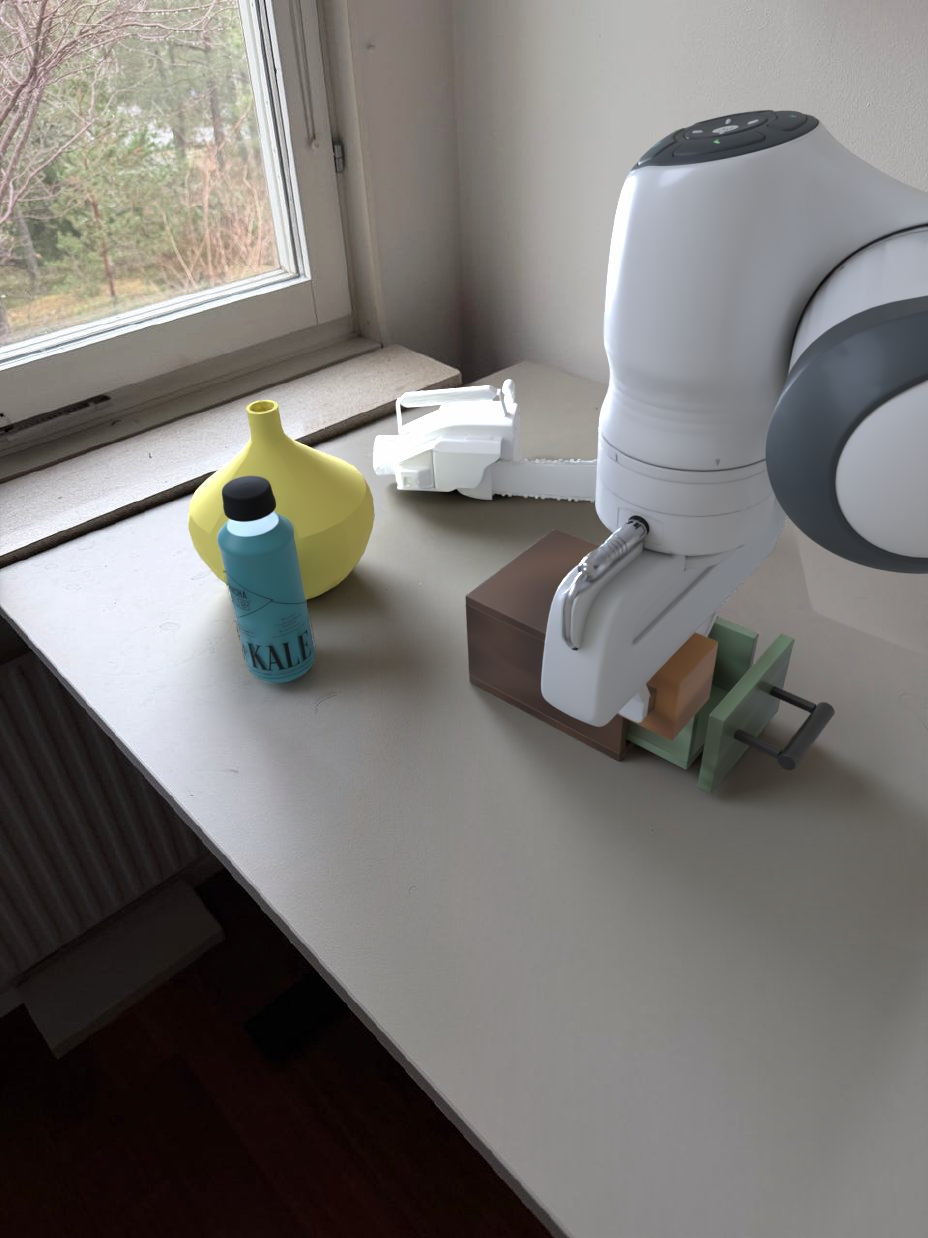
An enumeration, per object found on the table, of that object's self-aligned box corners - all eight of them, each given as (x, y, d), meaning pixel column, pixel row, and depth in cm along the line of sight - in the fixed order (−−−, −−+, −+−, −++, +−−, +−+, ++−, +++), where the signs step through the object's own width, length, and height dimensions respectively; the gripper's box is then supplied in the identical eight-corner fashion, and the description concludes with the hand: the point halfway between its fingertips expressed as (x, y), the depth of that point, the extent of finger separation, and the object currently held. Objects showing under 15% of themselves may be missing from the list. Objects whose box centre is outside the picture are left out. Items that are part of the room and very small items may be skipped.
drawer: (835, 736, 76) (856, 663, 71) (770, 826, 69) (789, 752, 64) (628, 643, 86) (634, 573, 81) (555, 713, 79) (556, 642, 74)
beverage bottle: (279, 642, 90) (240, 456, 77) (335, 664, 87) (303, 475, 74) (233, 683, 85) (184, 493, 73) (290, 707, 83) (249, 514, 70)
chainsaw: (677, 520, 103) (690, 416, 96) (369, 506, 108) (357, 407, 101) (674, 453, 115) (684, 356, 107) (395, 444, 120) (386, 350, 112)
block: (709, 698, 56) (719, 641, 54) (672, 742, 54) (680, 684, 51) (644, 669, 59) (650, 612, 56) (605, 709, 56) (609, 652, 53)
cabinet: (697, 677, 83) (710, 589, 77) (618, 762, 76) (627, 672, 70) (552, 611, 92) (554, 527, 86) (469, 682, 84) (464, 595, 78)
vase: (240, 523, 107) (204, 363, 95) (397, 531, 104) (380, 367, 92) (178, 623, 93) (126, 450, 81) (358, 635, 90) (332, 458, 78)
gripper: (629, 604, 39) (611, 820, 48) (828, 419, 51) (785, 617, 60) (508, 554, 42) (512, 764, 51) (722, 391, 54) (696, 583, 63)
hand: (661, 683), depth 55 cm, fingers closed on block, 4 cm apart
